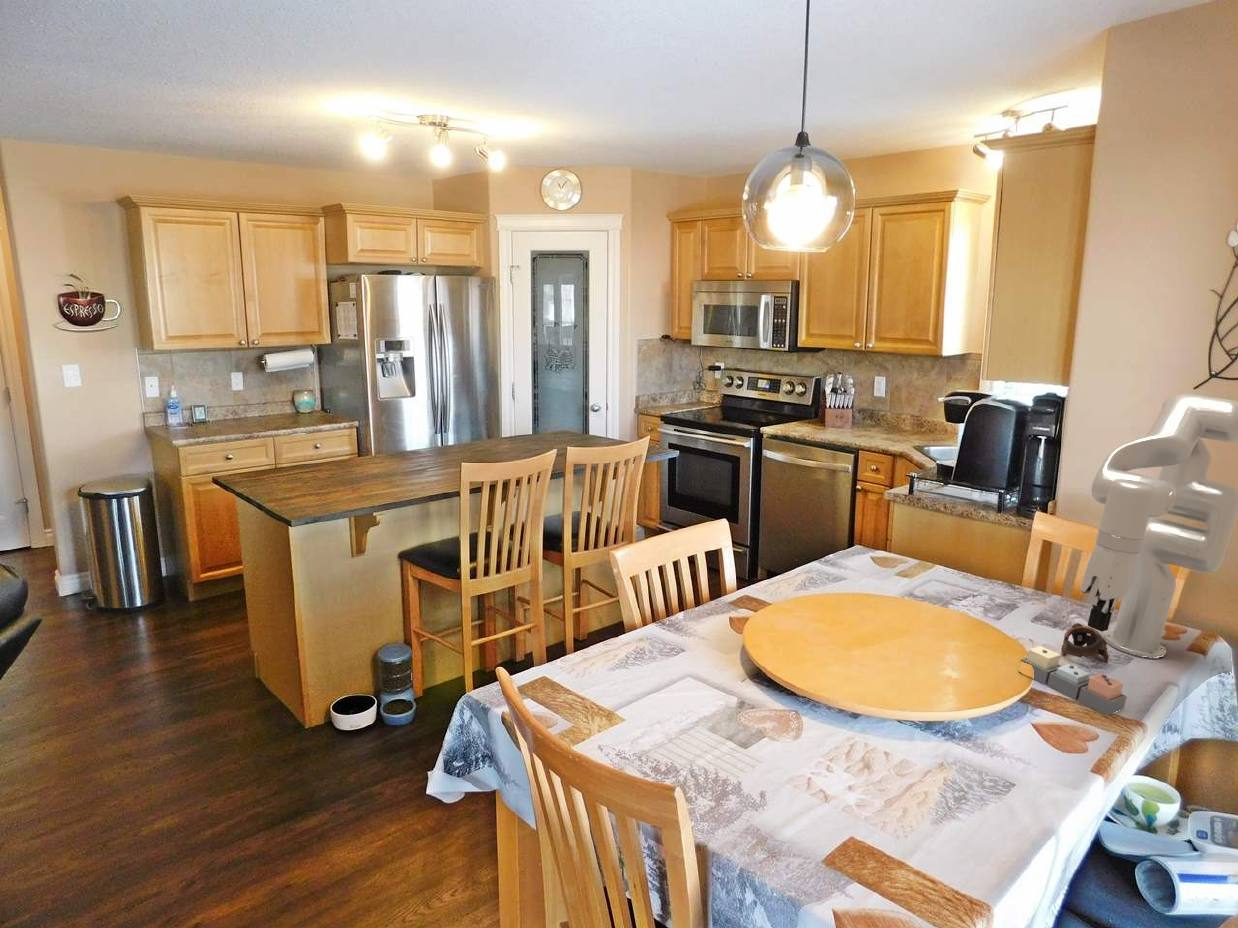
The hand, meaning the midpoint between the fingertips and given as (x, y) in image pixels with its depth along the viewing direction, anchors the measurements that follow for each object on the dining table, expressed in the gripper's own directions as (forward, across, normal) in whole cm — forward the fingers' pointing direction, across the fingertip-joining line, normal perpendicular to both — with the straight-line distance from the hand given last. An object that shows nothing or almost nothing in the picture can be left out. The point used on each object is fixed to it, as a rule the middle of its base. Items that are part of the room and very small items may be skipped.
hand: (1097, 628), depth 162 cm
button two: (+15, 0, -2) cm, 15 cm away
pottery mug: (+15, -20, -11) cm, 27 cm away
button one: (+14, 0, -9) cm, 16 cm away
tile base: (+15, 0, +4) cm, 16 cm away
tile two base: (+15, 0, -2) cm, 15 cm away
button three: (+14, 0, +4) cm, 14 cm away
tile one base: (+15, 0, -9) cm, 18 cm away
